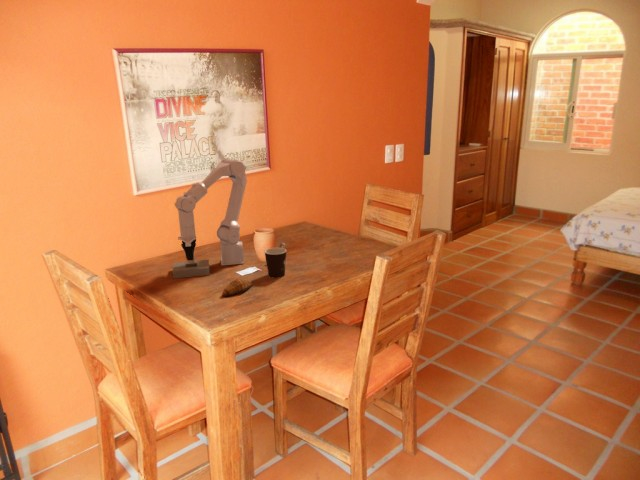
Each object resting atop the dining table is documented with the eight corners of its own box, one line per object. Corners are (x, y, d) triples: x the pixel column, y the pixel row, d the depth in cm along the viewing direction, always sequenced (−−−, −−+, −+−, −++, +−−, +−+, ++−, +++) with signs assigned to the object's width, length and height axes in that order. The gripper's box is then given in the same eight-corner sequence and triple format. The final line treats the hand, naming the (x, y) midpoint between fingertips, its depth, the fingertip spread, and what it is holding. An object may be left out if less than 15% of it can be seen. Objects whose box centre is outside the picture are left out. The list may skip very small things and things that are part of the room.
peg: (194, 260, 197) (193, 246, 196) (194, 263, 194) (193, 249, 193) (186, 261, 197) (185, 247, 195) (186, 264, 194) (185, 249, 192)
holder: (209, 266, 203) (208, 259, 202) (209, 274, 193) (209, 267, 192) (174, 269, 200) (173, 262, 199) (173, 278, 190) (172, 271, 189)
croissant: (229, 300, 169) (228, 286, 168) (217, 295, 173) (216, 282, 172) (258, 288, 179) (257, 275, 178) (246, 284, 183) (245, 272, 182)
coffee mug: (278, 280, 186) (277, 255, 183) (261, 276, 190) (259, 252, 188) (296, 271, 195) (295, 247, 193) (279, 267, 200) (277, 244, 197)
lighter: (272, 264, 204) (271, 246, 202) (270, 263, 206) (269, 245, 203) (286, 260, 209) (285, 242, 207) (283, 259, 210) (282, 241, 208)
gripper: (177, 222, 197) (180, 254, 201) (175, 231, 184) (179, 265, 187) (195, 221, 199) (198, 252, 202) (194, 230, 185) (198, 263, 189)
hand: (190, 258), depth 195 cm, fingers closed on peg, 3 cm apart
